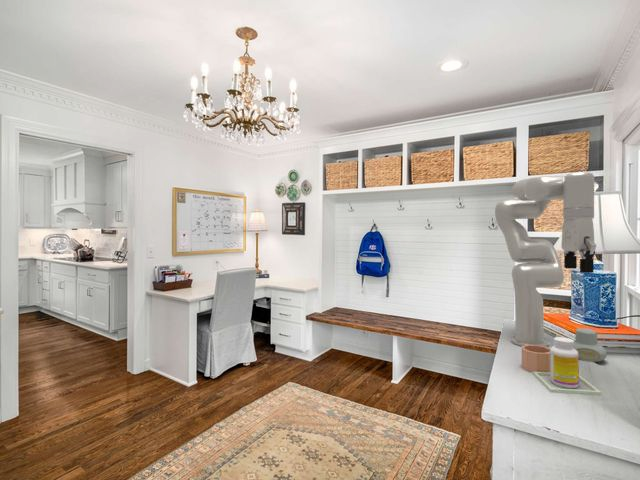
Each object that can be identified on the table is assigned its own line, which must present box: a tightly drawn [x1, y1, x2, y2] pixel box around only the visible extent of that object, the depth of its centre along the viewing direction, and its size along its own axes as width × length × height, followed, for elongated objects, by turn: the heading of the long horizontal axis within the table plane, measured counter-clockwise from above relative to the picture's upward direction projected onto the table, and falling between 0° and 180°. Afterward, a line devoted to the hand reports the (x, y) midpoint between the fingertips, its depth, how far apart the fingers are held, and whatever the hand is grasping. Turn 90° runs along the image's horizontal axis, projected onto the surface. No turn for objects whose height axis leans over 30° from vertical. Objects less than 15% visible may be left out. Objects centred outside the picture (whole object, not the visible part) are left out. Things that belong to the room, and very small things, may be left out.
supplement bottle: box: [549, 336, 580, 389], centre depth 99 cm, size 7×7×13 cm
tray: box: [532, 372, 602, 396], centre depth 98 cm, size 12×12×2 cm
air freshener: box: [573, 327, 608, 363], centre depth 118 cm, size 11×8×10 cm
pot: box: [521, 345, 551, 373], centre depth 110 cm, size 8×9×7 cm
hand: (578, 270), depth 106 cm, fingers open, 9 cm apart
